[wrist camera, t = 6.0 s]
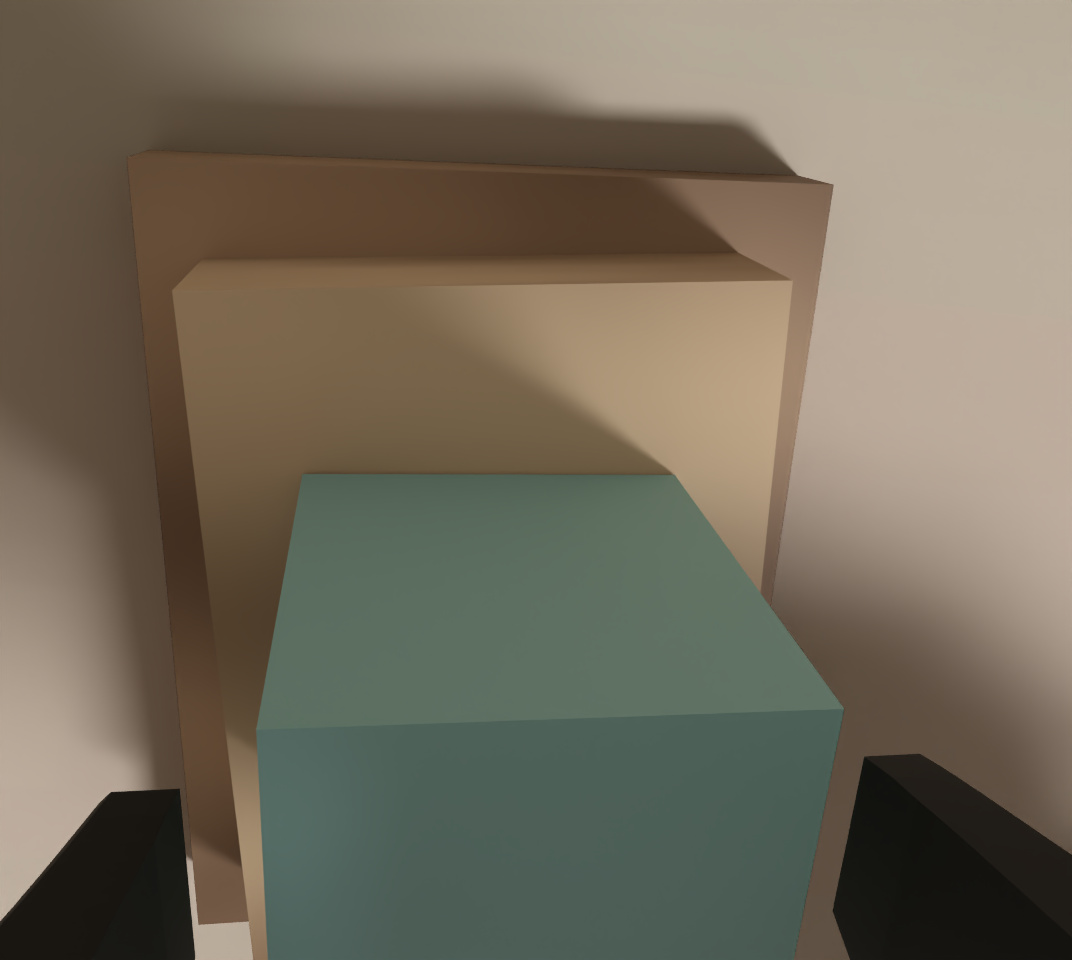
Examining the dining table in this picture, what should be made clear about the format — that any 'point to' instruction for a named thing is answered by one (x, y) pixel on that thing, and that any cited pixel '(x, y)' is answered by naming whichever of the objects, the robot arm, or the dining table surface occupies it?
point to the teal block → (532, 728)
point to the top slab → (459, 408)
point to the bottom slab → (406, 231)
